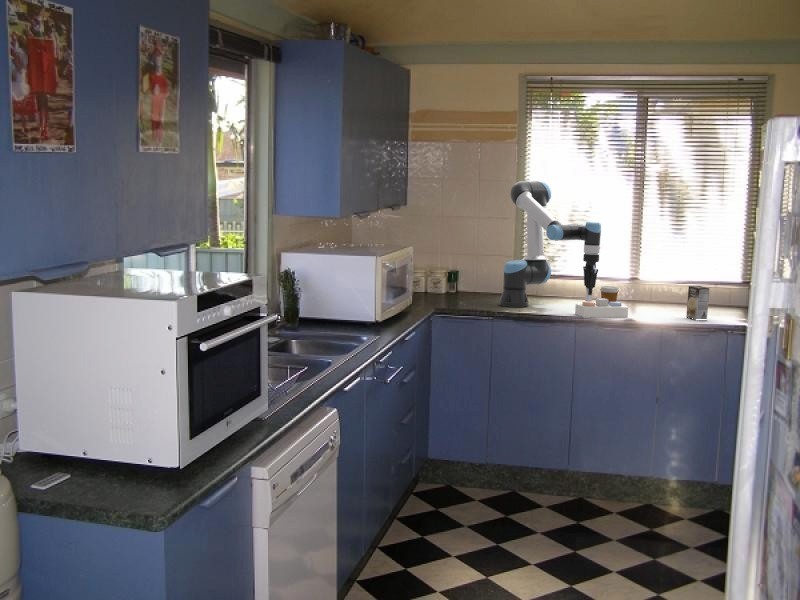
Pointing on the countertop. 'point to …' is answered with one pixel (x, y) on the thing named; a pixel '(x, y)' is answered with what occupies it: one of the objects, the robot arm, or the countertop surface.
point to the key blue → (614, 303)
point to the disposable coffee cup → (609, 293)
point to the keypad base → (601, 311)
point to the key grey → (601, 302)
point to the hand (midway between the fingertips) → (588, 301)
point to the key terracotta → (588, 304)
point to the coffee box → (697, 302)
